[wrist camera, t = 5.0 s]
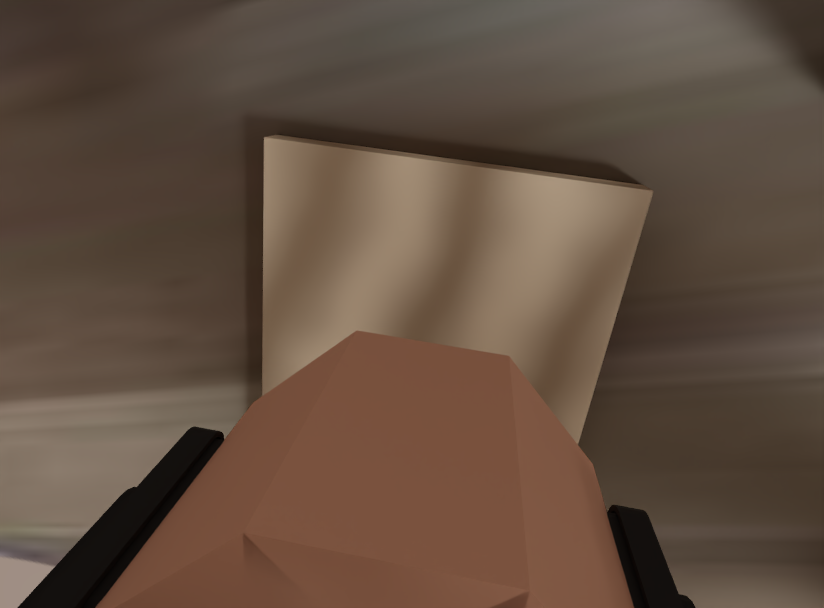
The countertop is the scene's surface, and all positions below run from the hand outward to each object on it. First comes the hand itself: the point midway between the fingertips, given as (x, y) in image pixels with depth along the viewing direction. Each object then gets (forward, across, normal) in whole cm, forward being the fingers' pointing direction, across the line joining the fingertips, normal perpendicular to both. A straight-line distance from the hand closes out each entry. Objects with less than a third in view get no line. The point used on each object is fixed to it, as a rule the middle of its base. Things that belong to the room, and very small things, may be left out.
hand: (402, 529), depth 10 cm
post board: (+16, +1, +5) cm, 16 cm away
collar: (+1, 0, 0) cm, 1 cm away
